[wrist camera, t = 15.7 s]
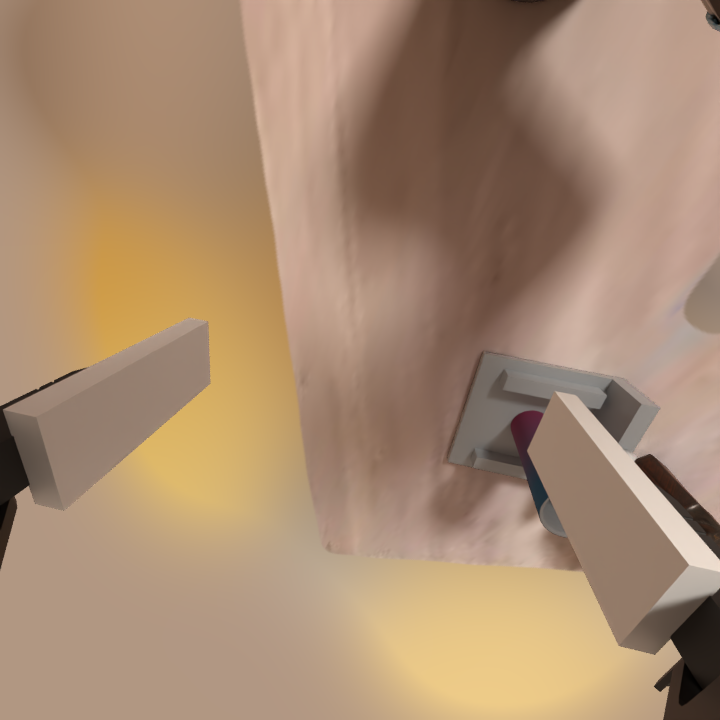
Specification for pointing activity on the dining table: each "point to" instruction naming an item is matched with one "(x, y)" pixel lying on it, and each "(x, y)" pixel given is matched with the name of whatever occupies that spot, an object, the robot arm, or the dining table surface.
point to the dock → (539, 409)
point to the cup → (523, 435)
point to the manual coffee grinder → (679, 494)
